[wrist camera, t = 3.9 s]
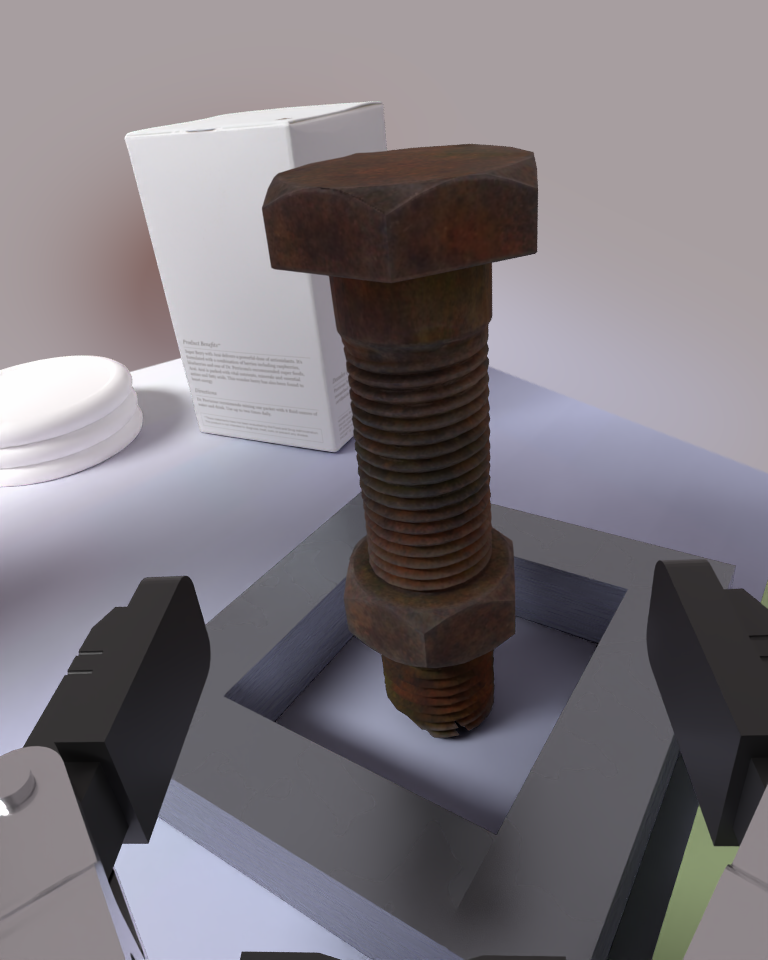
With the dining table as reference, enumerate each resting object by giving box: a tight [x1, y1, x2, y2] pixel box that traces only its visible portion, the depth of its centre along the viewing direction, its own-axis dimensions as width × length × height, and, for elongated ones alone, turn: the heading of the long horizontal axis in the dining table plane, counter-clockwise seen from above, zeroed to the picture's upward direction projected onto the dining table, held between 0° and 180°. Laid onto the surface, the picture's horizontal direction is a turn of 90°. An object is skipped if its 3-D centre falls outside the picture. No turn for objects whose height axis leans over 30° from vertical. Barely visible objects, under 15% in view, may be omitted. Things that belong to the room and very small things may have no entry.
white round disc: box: [0, 356, 143, 487], centre depth 39 cm, size 10×10×4 cm
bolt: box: [262, 144, 538, 738], centre depth 18 cm, size 6×5×15 cm
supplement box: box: [124, 101, 387, 452], centre depth 37 cm, size 9×9×15 cm
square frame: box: [158, 492, 736, 960], centre depth 21 cm, size 13×14×2 cm
